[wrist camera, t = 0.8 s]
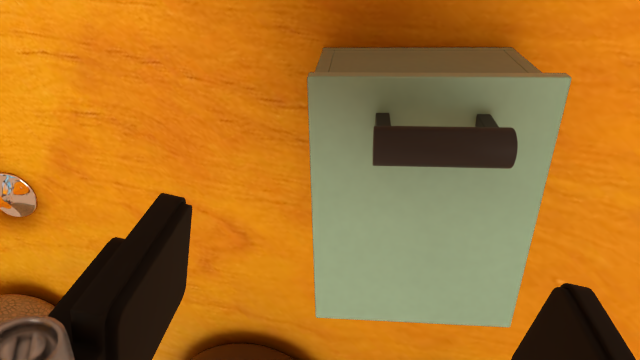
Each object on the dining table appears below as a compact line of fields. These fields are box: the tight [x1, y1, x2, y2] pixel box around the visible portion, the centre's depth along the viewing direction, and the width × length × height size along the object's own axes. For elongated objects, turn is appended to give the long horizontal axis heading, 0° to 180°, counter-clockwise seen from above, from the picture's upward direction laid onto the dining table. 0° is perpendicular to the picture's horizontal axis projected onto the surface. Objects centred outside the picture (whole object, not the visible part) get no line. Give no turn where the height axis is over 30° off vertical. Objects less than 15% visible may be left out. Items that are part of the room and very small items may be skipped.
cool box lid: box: [307, 72, 571, 327], centre depth 25 cm, size 16×13×5 cm
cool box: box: [315, 47, 542, 73], centre depth 31 cm, size 16×13×9 cm
